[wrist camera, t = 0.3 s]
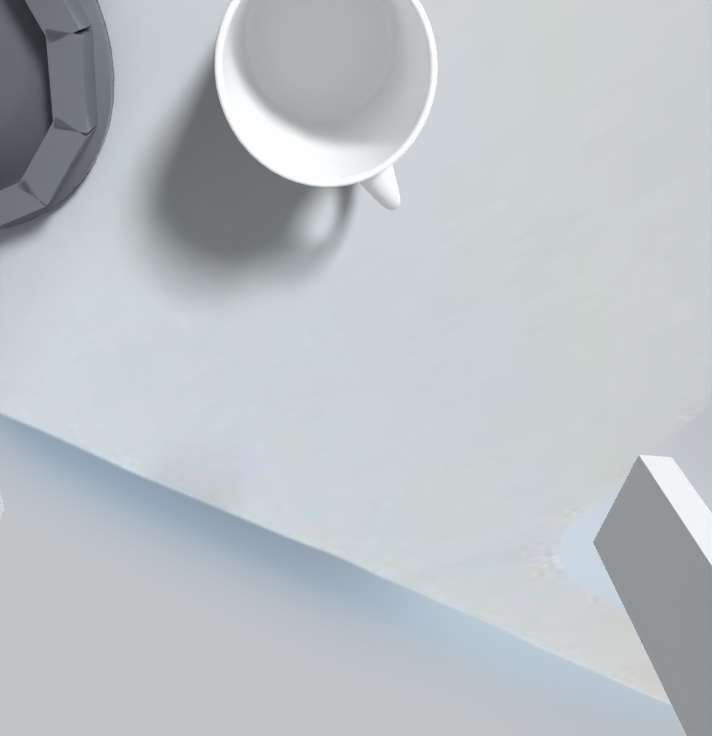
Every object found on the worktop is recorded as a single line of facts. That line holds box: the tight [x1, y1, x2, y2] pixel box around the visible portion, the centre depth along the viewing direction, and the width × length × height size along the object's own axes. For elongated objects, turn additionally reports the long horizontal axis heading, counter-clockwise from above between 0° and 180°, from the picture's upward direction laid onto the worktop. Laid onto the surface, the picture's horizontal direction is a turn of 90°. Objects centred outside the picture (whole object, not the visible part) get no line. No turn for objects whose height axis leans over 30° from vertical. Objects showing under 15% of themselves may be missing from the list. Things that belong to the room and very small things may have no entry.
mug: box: [214, 0, 437, 210], centre depth 30 cm, size 9×12×11 cm
